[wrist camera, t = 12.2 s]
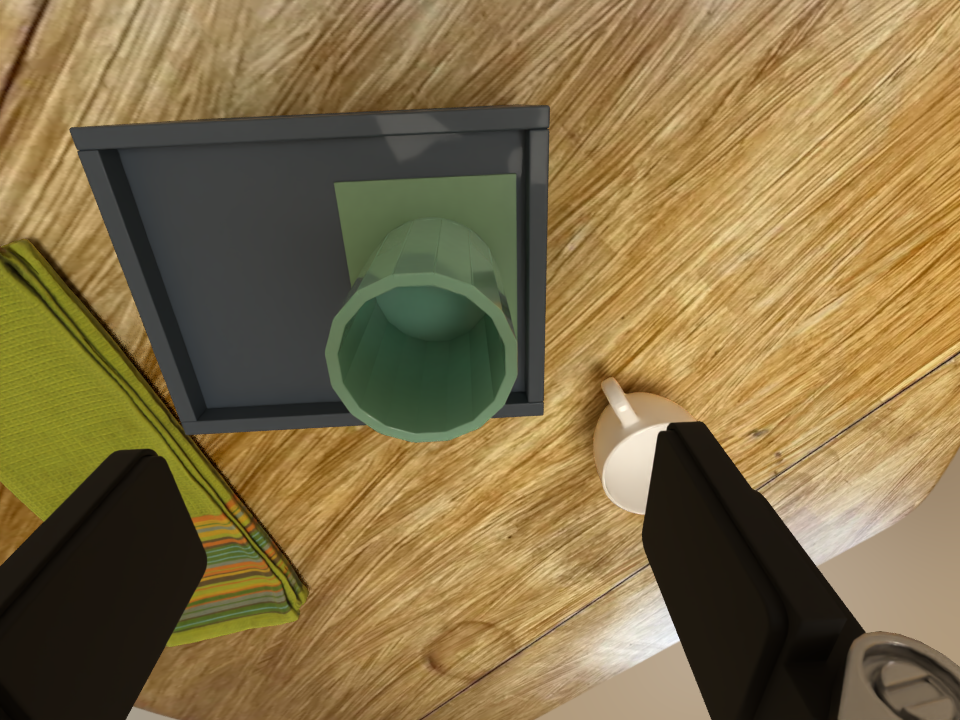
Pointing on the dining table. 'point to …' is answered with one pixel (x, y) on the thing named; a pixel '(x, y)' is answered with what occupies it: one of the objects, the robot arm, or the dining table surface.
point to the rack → (307, 241)
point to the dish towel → (119, 445)
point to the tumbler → (425, 335)
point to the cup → (631, 442)
